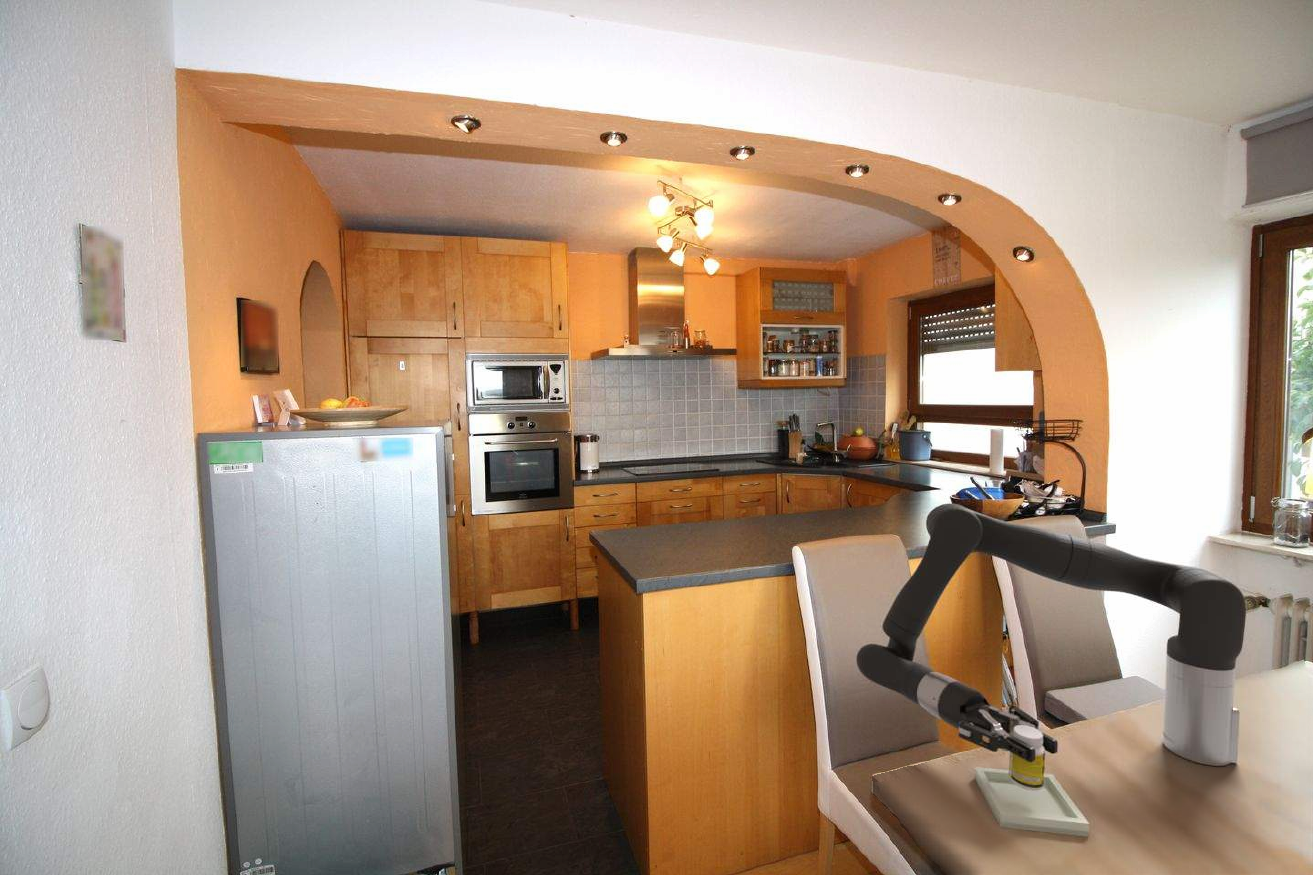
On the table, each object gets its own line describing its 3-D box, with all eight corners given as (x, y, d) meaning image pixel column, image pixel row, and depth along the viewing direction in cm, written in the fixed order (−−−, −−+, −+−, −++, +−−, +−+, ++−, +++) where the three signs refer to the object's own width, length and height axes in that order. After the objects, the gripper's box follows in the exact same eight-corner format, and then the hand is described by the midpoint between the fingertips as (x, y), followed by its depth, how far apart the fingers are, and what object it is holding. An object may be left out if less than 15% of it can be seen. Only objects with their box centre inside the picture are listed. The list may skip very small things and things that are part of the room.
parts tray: (1051, 785, 101) (1052, 774, 101) (1088, 836, 89) (1089, 823, 89) (974, 778, 103) (974, 766, 103) (1000, 826, 91) (1000, 814, 91)
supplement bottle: (1049, 793, 93) (1051, 741, 93) (1015, 789, 94) (1017, 738, 93) (1036, 774, 98) (1038, 724, 97) (1004, 770, 99) (1006, 721, 98)
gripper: (922, 688, 105) (1015, 739, 90) (979, 673, 111) (1075, 718, 96) (921, 730, 106) (1013, 787, 90) (977, 712, 112) (1073, 763, 96)
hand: (1044, 751), depth 93 cm, fingers closed on supplement bottle, 4 cm apart
